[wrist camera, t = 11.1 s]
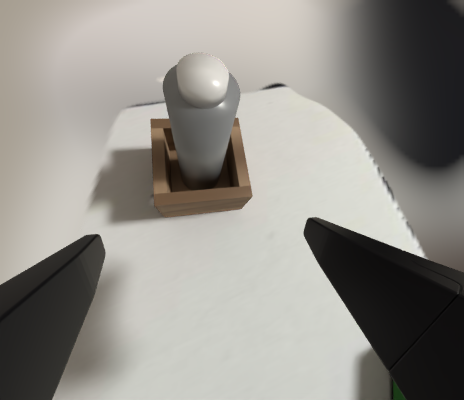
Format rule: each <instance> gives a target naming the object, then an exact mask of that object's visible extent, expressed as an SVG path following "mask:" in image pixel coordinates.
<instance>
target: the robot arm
mask: <svg viewBox="0 0 464 400" xmlns="http://www.w3.org/2000/svg"><path fill="white" fill-rule="evenodd" d="M304 237H305V239H306V241H307V243H308V245H309V247H310V249H311V250H312V252H313V254H314V256H315V258H316V260H317V262H318V264H319V265H320V267H321V268H322V270H323V271H324V273H325V275H326V276H327V278H328V279H329V281H330V282H331V284H332V285H333V287H334V289H335V290H336V292H337V293H338V295H339V296H340V298H341V299H342V301H343V302H344V304H345V306H346V307H347V309H348V310H349V312H350V313H351V315H352V316H353V318H354V319H355V321H356V323H357V324H358V326H359V327H360V329H361V330H362V332H363V333H364V335H365V336H366V338H367V340H368V341H369V343H370V344H371V346H372V347H373V349H374V350H375V352H376V354H377V355H378V357H379V358H380V360H381V361H382V363H383V364H384V366H385V367H386V369H387V370H388V371H389V374H390V375H391V377H392V379H393V380H394V382H395V383H396V385H397V386H398V388H399V389H400V391H401V393H402V394H403V396H404V397H405V399H406V400H464V272H461V271H458V270H455V269H452V268H449V267H447V266H444V265H441V264H438V263H435V262H433V261H430V260H427V259H425V258H422V257H419V256H417V255H414V254H411V253H409V252H406V251H402V250H401V249H398V248H396V247H393V246H390V245H388V244H385V243H383V242H380V241H377V240H375V239H372V238H369V237H367V236H364V235H362V234H359V233H356V232H354V231H351V230H349V229H346V228H343V227H341V226H338V225H336V224H333V223H330V222H328V221H325V220H323V219H320V218H317V217H312V218H308V219H307V222H306V225H305V229H304ZM104 259H105V249H104V245H103V242H102V239H101V236H100V235H98V234H93V235H85V236H84V237H82V238H80V239H78V240H77V241H75V242H73V243H72V244H70V245H68V246H66V247H65V248H63V249H61V250H60V251H58V252H56V253H55V254H53V255H51V256H49V257H48V258H46V259H44V260H42V261H41V262H39V263H37V264H36V265H34V266H32V267H31V268H29V269H27V270H25V271H24V272H22V273H20V274H18V275H17V276H15V277H13V278H12V279H10V280H8V281H6V282H5V283H3V284H1V285H0V400H52V398H53V396H54V394H55V391H56V389H57V386H58V384H59V381H60V379H61V376H62V374H63V371H64V369H65V366H66V364H67V362H68V359H69V357H70V354H71V352H72V349H73V347H74V344H75V342H76V339H77V337H78V334H79V332H80V329H81V327H82V325H83V322H84V320H85V317H86V315H87V312H88V310H89V307H90V305H91V302H92V300H93V297H94V294H95V291H96V288H97V284H98V281H99V277H100V273H101V270H102V266H103V263H104Z"/></svg>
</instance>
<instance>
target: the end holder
mask: <svg viewBox="0 0 464 400" xmlns="http://www.w3.org/2000/svg"><path fill="white" fill-rule="evenodd" d="M151 141H152V164H153V187H154V206H155V207H156V208H157V209H158V211H159V212H160V213H161V214H162V215H163V216H164V217H174V216H183V215H192V214H201V213H210V212H219V211H228V210H237V209H242V207H243V206H244V205H245V204H246V203H247V202H248V201H249V200H250V199H251V197H252V191H251V185H250V180H249V174H248V169H247V164H246V158H245V153H244V147H243V142H242V136H241V131H240V126H239V120H238V118H235V120H234V123H233V127H232V131H231V135H230V139H229V142H228V146H227V150H226V154H225V158H224V161H223V165H222V169H221V173H220V177H219V180H218V183H217V184H216V186H215V187H214V188H213V189H205V190H194V191H193V190H191V189H189V188H188V187H187V186H186V185H185V184H184V182H183V180H182V176H181V171H180V167H179V162H178V157H177V153H176V148H175V143H174V139H173V134H172V129H171V125H170V120H169V119H151Z"/></svg>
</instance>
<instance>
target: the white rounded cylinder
mask: <svg viewBox="0 0 464 400" xmlns="http://www.w3.org/2000/svg"><path fill="white" fill-rule="evenodd" d="M163 92H164V97H165V101H166V106H167V111H168V115H169V120H170V125H171V129H172V134H173V139H174V143H175V148H176V153H177V157H178V162H179V167H180V171H181V176H182V180H183V182H184V184H185V185H186V186H187V187H188V188H189V189H191V190H193V191H194V190H205V189H213V188H214V187H215V186H216V184H217V183H218V180H219V177H220V173H221V169H222V165H223V161H224V158H225V154H226V150H227V146H228V142H229V139H230V135H231V131H232V127H233V123H234V120H235V116H236V112H237V108H238V104H239V101H240V89H239V86H238V83H237V81H236V80H235V78H234V77H233V76H232V75H231V74H230V73H229V72H228V70H227V67H226V66H225V65H224V63H223V62H222V61H221V60H219V59H218V58H216V57H214V56H212V55H209V54H205V53H192V54H189V55H186V56H184V57H183V58H182V59H181V60H180V61H179V62H178V64H177V65H175V66H174V67H173V68H171V69H170V70H169V71H168V73H167V74H166V76H165V78H164V81H163Z"/></svg>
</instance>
